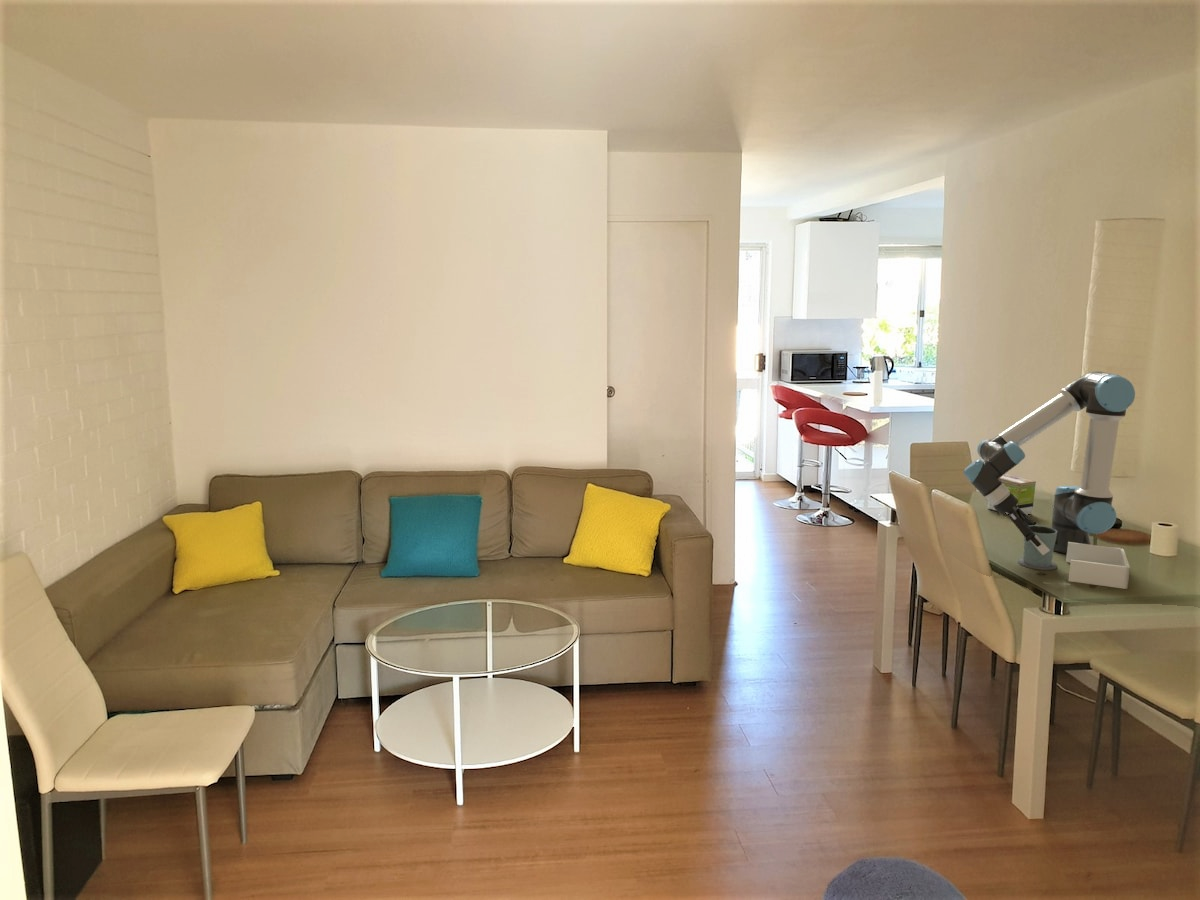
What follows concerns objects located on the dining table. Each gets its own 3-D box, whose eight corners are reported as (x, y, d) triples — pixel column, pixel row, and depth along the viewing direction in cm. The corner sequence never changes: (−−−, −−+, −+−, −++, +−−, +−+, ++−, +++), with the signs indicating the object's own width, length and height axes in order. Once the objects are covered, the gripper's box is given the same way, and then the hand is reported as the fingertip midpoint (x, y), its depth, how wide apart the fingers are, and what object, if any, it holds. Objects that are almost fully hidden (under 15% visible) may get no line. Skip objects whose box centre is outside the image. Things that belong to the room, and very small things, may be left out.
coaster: (1018, 557, 307) (1018, 555, 307) (1056, 562, 302) (1056, 560, 302) (1017, 566, 296) (1017, 565, 296) (1057, 572, 291) (1057, 570, 291)
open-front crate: (1065, 561, 303) (1068, 541, 301) (1120, 568, 296) (1123, 548, 294) (1068, 581, 282) (1071, 560, 281) (1127, 589, 275) (1130, 567, 274)
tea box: (986, 509, 373) (989, 475, 370) (1003, 506, 377) (1006, 473, 375) (1016, 517, 360) (1019, 482, 357) (1033, 515, 364) (1036, 480, 361)
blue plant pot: (1046, 559, 303) (1050, 525, 301) (1058, 568, 293) (1062, 533, 291) (1016, 558, 304) (1019, 524, 302) (1027, 567, 294) (1030, 532, 292)
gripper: (993, 498, 313) (1036, 544, 309) (991, 514, 291) (1036, 563, 287) (1011, 485, 310) (1054, 531, 306) (1010, 500, 288) (1056, 550, 284)
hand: (1046, 547), depth 297 cm, fingers open, 13 cm apart
